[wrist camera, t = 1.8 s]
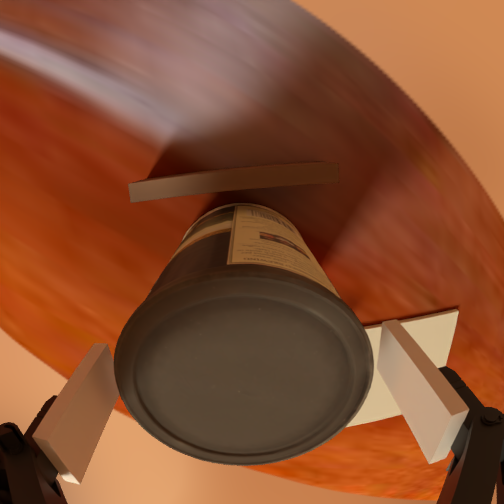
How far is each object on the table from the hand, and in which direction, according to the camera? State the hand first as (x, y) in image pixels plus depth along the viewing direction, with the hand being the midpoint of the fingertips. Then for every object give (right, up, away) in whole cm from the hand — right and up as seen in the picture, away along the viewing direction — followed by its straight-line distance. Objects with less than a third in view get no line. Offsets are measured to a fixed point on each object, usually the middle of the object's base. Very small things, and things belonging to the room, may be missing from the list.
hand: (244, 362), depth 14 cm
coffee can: (0, +4, +11) cm, 12 cm away
